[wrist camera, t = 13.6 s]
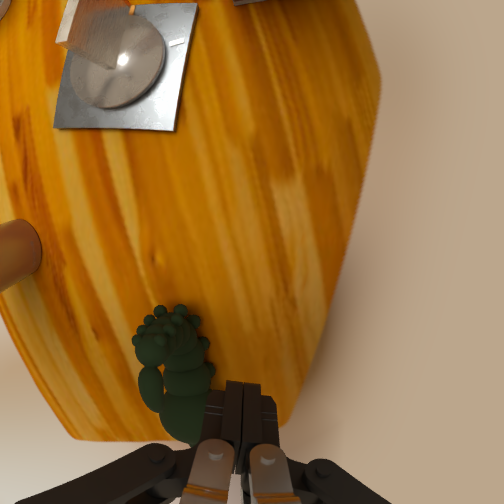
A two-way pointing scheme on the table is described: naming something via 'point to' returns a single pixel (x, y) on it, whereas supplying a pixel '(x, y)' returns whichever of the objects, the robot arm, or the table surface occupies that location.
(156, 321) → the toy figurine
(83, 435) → the table surface
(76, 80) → the dial
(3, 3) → the gray strapped canister
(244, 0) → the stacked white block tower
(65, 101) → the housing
